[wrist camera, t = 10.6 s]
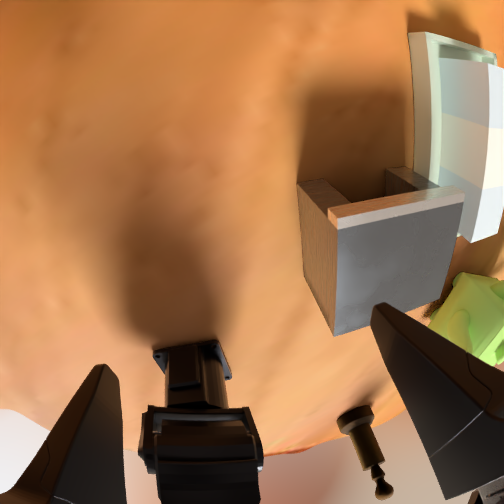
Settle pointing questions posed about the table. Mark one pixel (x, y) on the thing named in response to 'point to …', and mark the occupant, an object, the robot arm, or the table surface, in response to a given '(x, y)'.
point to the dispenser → (377, 246)
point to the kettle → (474, 317)
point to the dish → (434, 93)
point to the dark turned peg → (366, 446)
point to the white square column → (473, 142)
